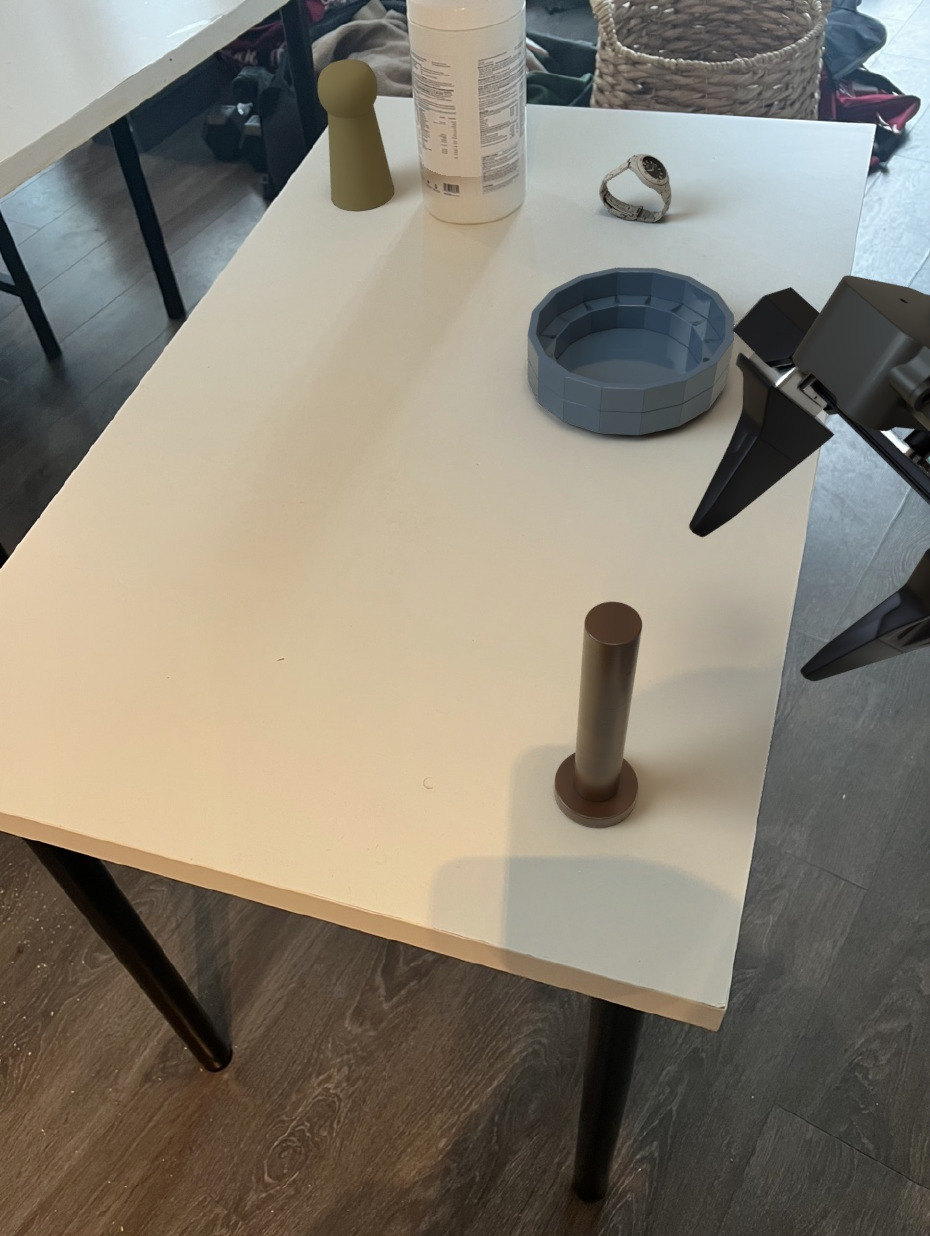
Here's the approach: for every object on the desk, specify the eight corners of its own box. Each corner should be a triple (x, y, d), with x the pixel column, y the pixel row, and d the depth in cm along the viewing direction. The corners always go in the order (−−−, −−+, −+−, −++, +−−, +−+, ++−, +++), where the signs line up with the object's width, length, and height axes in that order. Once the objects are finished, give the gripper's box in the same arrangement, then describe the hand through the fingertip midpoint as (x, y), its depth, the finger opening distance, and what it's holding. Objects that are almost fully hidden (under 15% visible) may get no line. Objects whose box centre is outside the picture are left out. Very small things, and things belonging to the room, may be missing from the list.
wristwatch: (662, 230, 83) (669, 171, 79) (593, 220, 85) (596, 162, 81) (674, 209, 85) (681, 150, 81) (606, 199, 87) (610, 141, 83)
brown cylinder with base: (621, 749, 54) (645, 573, 42) (648, 817, 52) (682, 650, 40) (544, 767, 54) (548, 596, 42) (568, 836, 51) (578, 674, 40)
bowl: (682, 305, 77) (689, 251, 73) (755, 416, 69) (768, 362, 65) (507, 342, 76) (506, 290, 73) (560, 459, 68) (562, 407, 64)
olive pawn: (320, 190, 93) (298, 64, 84) (377, 170, 94) (360, 43, 85) (347, 218, 90) (326, 89, 81) (405, 196, 91) (391, 67, 82)
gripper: (824, 80, 36) (543, 412, 43) (1245, 361, 25) (774, 736, 33) (938, 228, 43) (681, 490, 51) (1301, 495, 32) (906, 776, 40)
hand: (747, 600), depth 43 cm, fingers open, 9 cm apart
